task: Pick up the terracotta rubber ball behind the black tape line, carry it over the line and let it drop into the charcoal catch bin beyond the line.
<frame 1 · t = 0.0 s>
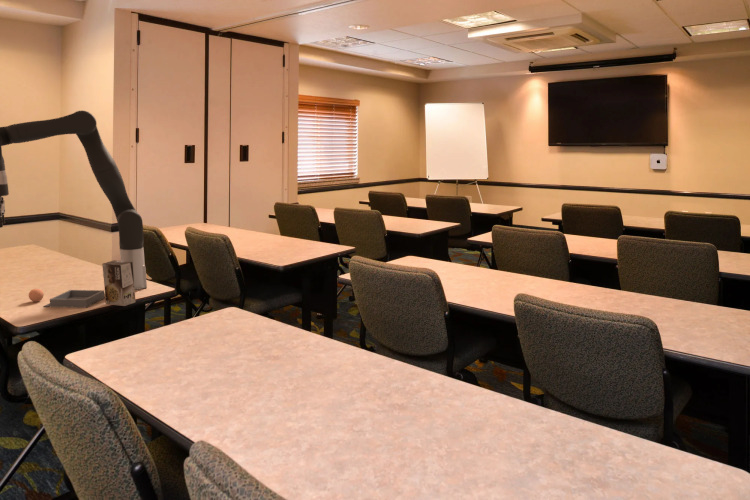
hand: (0, 226, 210), 29 cm above the table, fingers open, 8 cm apart
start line: (57, 301, 214), on the table
coffee box: (120, 303, 214), on the table
ball: (36, 295, 214), point 2 cm above the table
catch bin: (78, 302, 214), on the table
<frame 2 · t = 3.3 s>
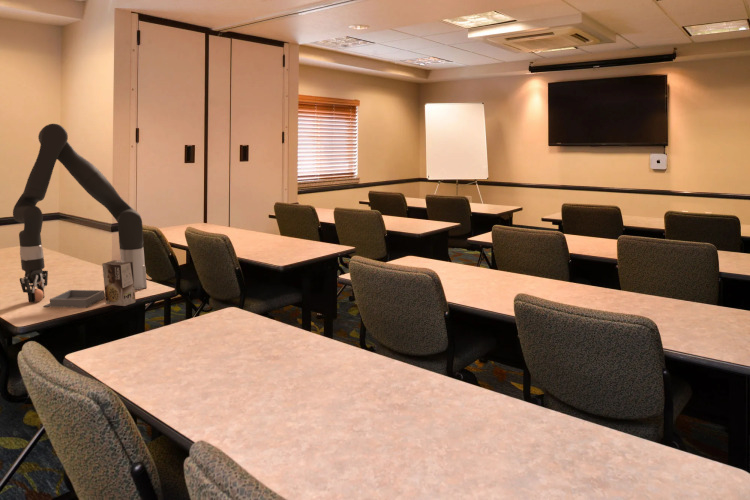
hand: (36, 299, 214), 1 cm above the table, fingers closed on ball, 5 cm apart
ball: (36, 295, 214), point 2 cm above the table, touching gripper
everything else where it was.
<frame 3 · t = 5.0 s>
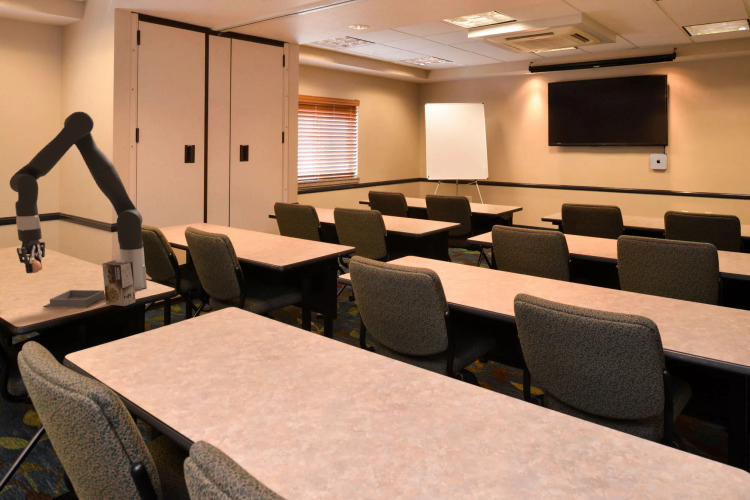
hand: (34, 271, 212), 12 cm above the table, fingers closed on ball, 5 cm apart
ball: (33, 266, 212), point 14 cm above the table, touching gripper
everything else where it was.
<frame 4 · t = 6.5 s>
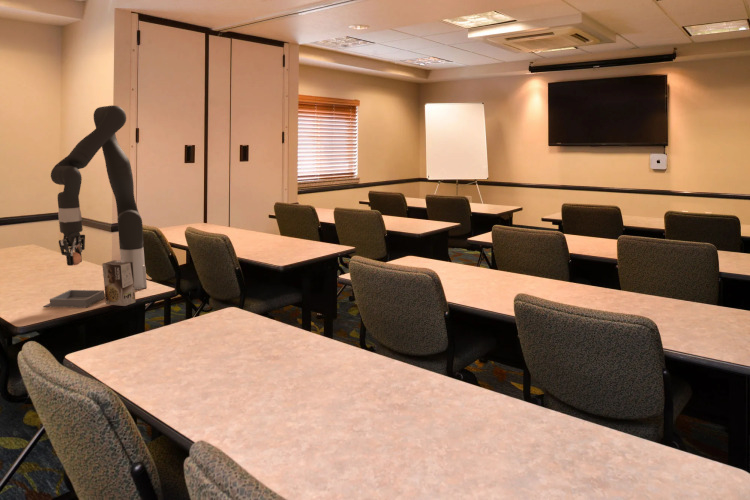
hand: (74, 263, 211), 15 cm above the table, fingers closed on ball, 5 cm apart
ball: (74, 258, 211), point 17 cm above the table, touching gripper
everything else where it was.
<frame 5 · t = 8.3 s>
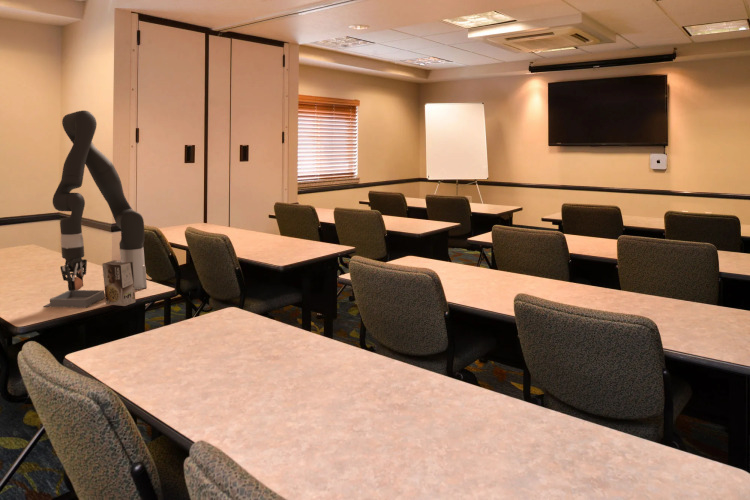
hand: (76, 288, 213), 5 cm above the table, fingers closed on ball, 5 cm apart
ball: (75, 283, 213), point 7 cm above the table, touching gripper
everything else where it was.
when the fingers open (4 cm above the table, at t = 9.5 s): ball drops 3 cm, resting on catch bin.
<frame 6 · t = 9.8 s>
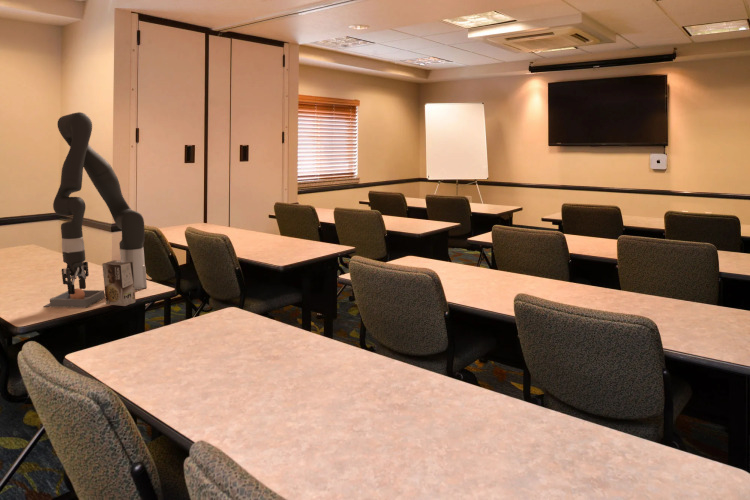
hand: (77, 291, 213), 4 cm above the table, fingers open, 7 cm apart
ball: (77, 294, 214), point 3 cm above the table, touching catch bin
everything else where it was.
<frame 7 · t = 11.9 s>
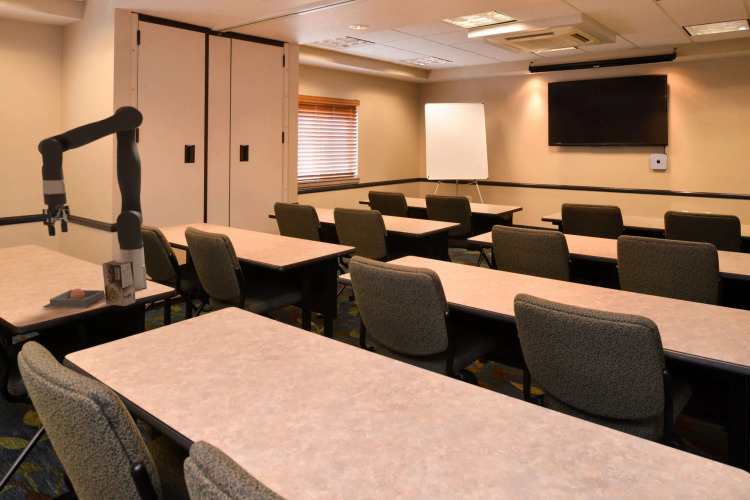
hand: (58, 234, 214), 26 cm above the table, fingers open, 8 cm apart
nothing on the table moved.
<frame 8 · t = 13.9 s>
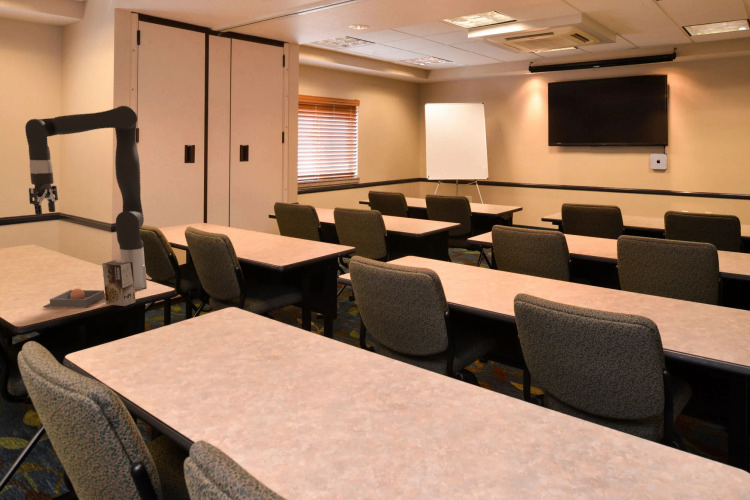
hand: (45, 213, 218), 33 cm above the table, fingers open, 8 cm apart
nothing on the table moved.
at the end: ball 0.0 cm from the catch bin (horizontally); ball point 2.9 cm above the table; the gripper is holding nothing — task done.
